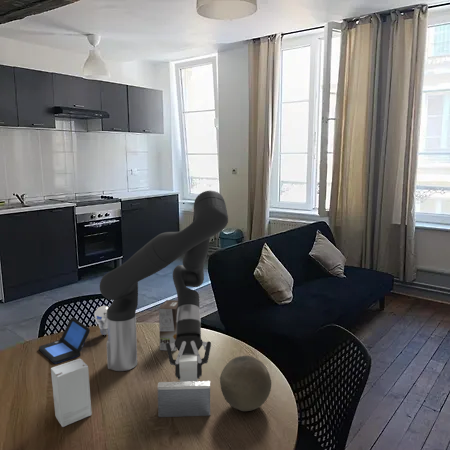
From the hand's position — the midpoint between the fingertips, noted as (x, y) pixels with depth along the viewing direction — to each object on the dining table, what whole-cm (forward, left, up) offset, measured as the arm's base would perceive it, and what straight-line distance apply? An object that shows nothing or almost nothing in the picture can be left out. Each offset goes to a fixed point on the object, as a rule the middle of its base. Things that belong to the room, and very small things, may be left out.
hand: (188, 378), depth 117 cm
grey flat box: (-1, -7, -6) cm, 10 cm away
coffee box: (-8, +35, -7) cm, 36 cm away
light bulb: (-35, +45, -7) cm, 57 cm away
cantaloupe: (+16, -6, -7) cm, 18 cm away
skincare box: (-31, -7, -7) cm, 32 cm away
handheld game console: (-46, +32, -7) cm, 57 cm away
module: (0, +2, -5) cm, 5 cm away
